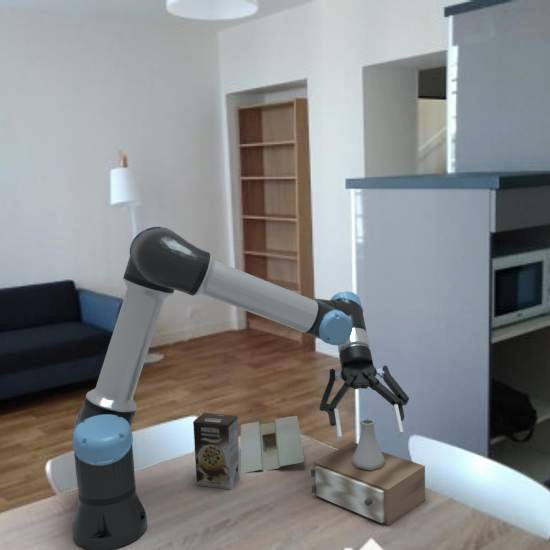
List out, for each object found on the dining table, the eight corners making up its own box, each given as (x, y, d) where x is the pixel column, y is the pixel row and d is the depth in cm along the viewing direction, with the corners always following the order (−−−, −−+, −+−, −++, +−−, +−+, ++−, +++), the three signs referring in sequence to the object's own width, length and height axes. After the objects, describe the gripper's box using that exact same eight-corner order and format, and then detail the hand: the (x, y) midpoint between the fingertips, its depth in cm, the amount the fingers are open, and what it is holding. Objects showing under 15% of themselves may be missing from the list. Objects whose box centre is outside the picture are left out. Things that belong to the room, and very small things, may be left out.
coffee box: (195, 485, 155) (191, 421, 152) (206, 473, 161) (203, 411, 158) (231, 490, 152) (227, 424, 149) (241, 477, 158) (237, 414, 156)
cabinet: (309, 498, 147) (308, 464, 146) (353, 473, 158) (352, 442, 157) (383, 529, 133) (382, 493, 132) (425, 499, 144) (424, 465, 143)
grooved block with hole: (310, 475, 166) (302, 422, 176) (306, 462, 160) (298, 407, 169) (247, 486, 167) (243, 433, 177) (240, 473, 161) (236, 418, 170)
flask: (366, 453, 150) (365, 412, 148) (391, 463, 145) (390, 420, 143) (345, 464, 145) (344, 421, 144) (370, 474, 140) (369, 430, 138)
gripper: (402, 355, 159) (422, 438, 147) (301, 362, 157) (312, 447, 144) (408, 340, 153) (429, 425, 140) (303, 346, 151) (315, 434, 138)
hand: (370, 436), depth 142 cm, fingers open, 13 cm apart
